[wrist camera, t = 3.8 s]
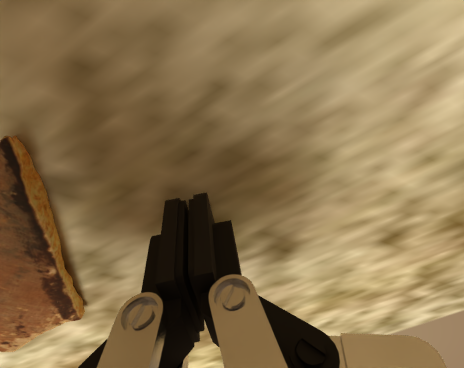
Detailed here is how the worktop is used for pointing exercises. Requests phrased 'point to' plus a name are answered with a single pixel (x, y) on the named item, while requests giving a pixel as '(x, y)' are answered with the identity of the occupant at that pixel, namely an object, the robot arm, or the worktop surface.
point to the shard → (29, 255)
